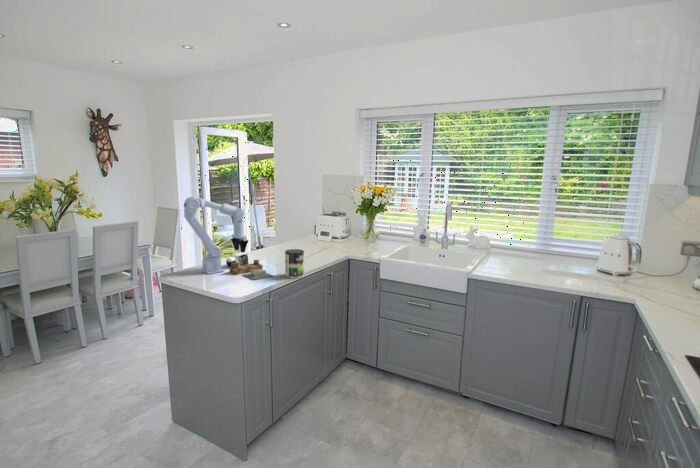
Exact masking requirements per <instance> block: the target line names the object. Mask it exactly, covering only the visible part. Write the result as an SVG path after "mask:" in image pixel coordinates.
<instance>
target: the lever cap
mask: <svg viewBox="0 0 700 468" xmlns="http://www.w3.org/2000/svg"><path fill="white" fill-rule="evenodd" d="M249 273H250V275H251V276H253V277H257V276H262V275H266V273H267V270H266V269H263V268H262V269H256V270H253V271H250V272H249Z"/></svg>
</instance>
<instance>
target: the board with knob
mask: <svg viewBox="0 0 700 468" xmlns="http://www.w3.org/2000/svg"><path fill="white" fill-rule="evenodd" d="M228 268H229V273H230V274H232V275H235V276H237V275H244V274H249V273H250V271H253V270H256V269H263V264H261V263H260V260H259V259H254V260H253V263H249V264H246V265H240V266H238V263H237V262H233V263H231V267H228Z"/></svg>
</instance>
